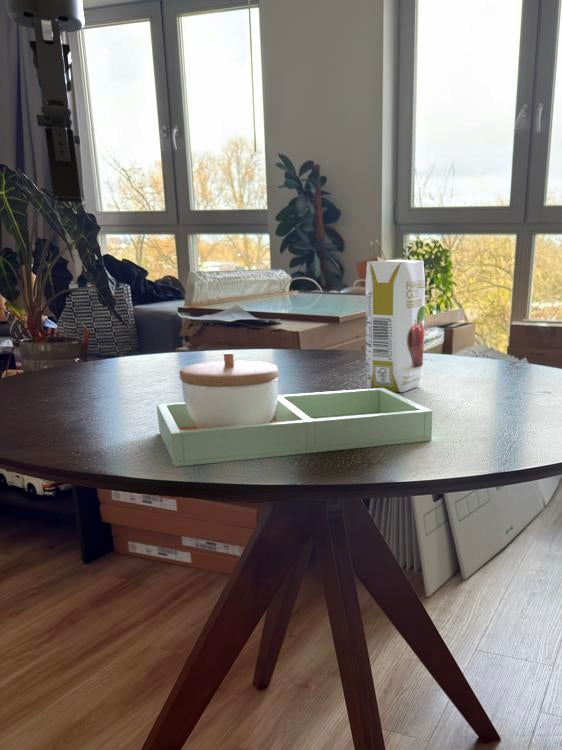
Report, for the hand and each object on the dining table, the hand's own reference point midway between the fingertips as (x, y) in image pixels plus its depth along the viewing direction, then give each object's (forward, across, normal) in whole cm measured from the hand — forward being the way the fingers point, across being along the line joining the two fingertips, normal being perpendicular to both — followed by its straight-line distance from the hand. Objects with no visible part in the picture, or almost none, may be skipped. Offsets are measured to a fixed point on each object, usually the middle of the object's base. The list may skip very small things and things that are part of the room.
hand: (68, 200), depth 84 cm
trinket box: (+25, -18, -15) cm, 34 cm away
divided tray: (+26, -17, -22) cm, 38 cm away
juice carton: (+26, +7, -44) cm, 52 cm away
